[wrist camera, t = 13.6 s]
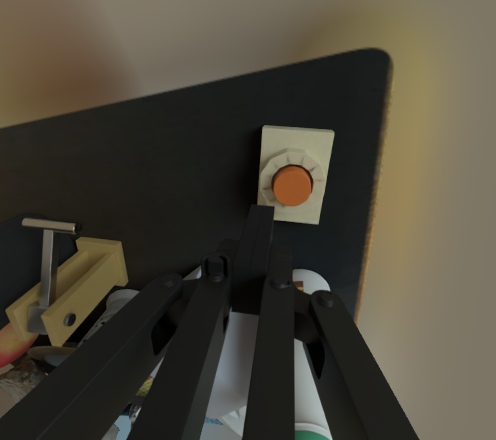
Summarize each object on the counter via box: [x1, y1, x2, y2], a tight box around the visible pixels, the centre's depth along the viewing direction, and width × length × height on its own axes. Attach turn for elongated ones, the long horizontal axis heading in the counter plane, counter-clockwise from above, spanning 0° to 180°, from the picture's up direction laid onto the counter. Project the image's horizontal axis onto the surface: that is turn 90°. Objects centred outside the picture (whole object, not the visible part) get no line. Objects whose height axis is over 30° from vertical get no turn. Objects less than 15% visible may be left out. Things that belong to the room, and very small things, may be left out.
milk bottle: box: [293, 269, 332, 440], centre depth 29 cm, size 8×8×20 cm
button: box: [273, 166, 311, 206], centre depth 28 cm, size 4×4×2 cm
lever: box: [22, 217, 82, 335], centre depth 31 cm, size 12×6×2 cm, turn 177°
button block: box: [257, 125, 334, 224], centre depth 30 cm, size 10×7×4 cm
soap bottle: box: [150, 265, 259, 419], centre depth 30 cm, size 12×7×23 cm, turn 44°
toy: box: [26, 342, 79, 367], centre depth 44 cm, size 12×21×10 cm, turn 113°
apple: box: [0, 322, 39, 368], centre depth 43 cm, size 10×10×10 cm
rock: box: [0, 355, 47, 402], centre depth 45 cm, size 21×9×5 cm
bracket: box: [5, 237, 128, 347], centre depth 35 cm, size 7×6×13 cm
